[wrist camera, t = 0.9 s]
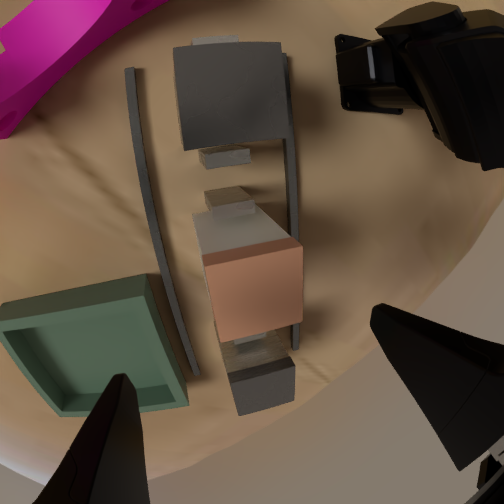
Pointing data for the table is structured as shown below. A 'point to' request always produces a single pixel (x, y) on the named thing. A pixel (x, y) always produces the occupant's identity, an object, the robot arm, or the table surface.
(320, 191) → the table surface
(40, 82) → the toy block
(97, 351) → the tray
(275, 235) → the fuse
